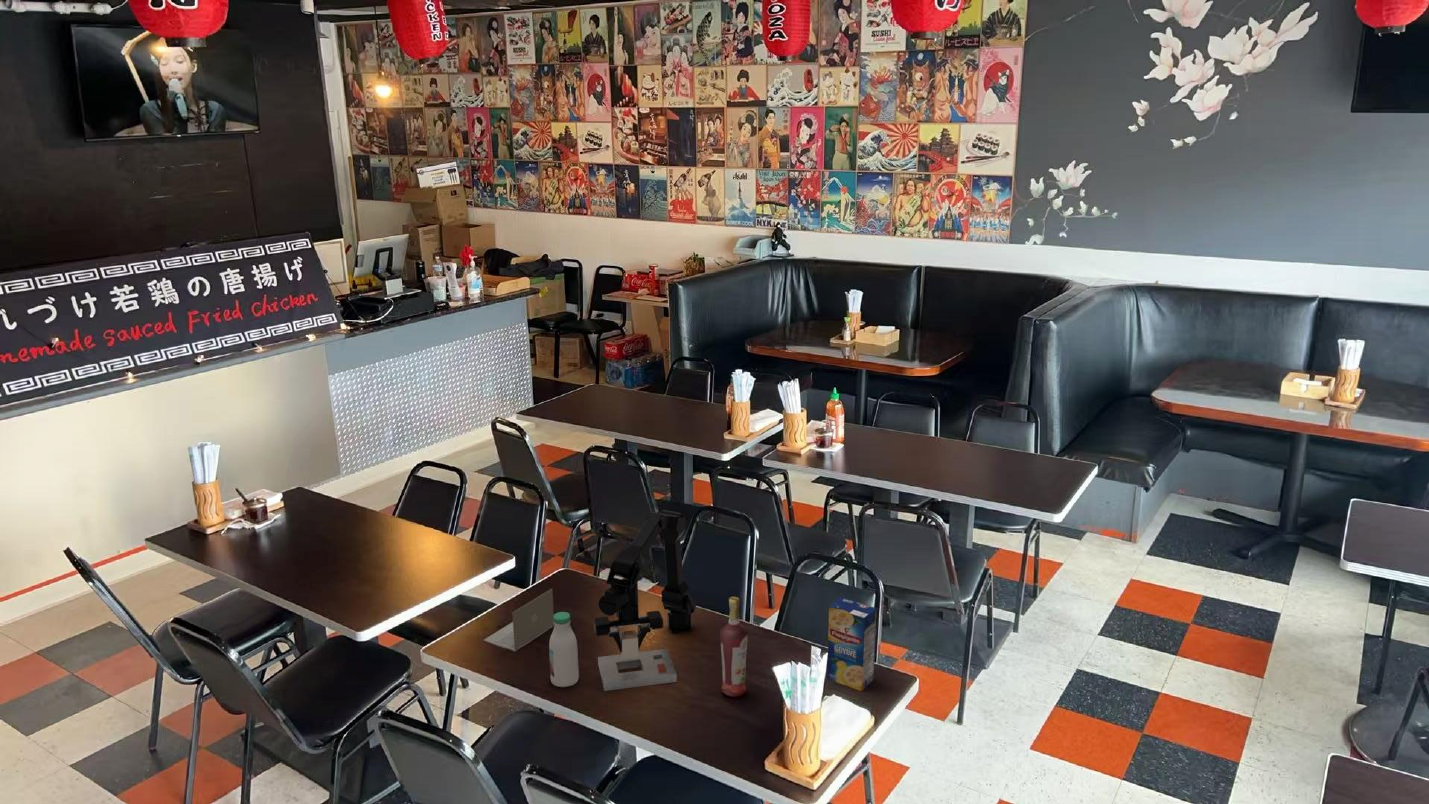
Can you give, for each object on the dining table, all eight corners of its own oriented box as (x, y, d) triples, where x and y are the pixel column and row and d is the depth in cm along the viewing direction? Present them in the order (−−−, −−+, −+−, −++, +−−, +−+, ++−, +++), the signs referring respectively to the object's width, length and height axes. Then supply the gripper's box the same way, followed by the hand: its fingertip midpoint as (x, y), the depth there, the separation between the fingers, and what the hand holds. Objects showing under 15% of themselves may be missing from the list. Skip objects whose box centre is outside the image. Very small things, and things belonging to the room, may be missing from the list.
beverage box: (862, 691, 275) (865, 618, 269) (826, 678, 281) (828, 606, 275) (873, 680, 280) (876, 608, 274) (838, 668, 287) (841, 597, 281)
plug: (636, 649, 285) (635, 628, 283) (638, 657, 281) (637, 635, 279) (620, 651, 284) (619, 630, 282) (622, 659, 280) (621, 637, 278)
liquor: (738, 703, 270) (738, 607, 262) (715, 695, 273) (714, 600, 266) (752, 690, 276) (753, 596, 268) (729, 682, 279) (729, 590, 272)
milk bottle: (583, 675, 283) (580, 611, 278) (571, 690, 276) (567, 623, 271) (558, 671, 286) (555, 606, 280) (545, 685, 278) (542, 619, 273)
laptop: (523, 617, 317) (520, 579, 313) (554, 627, 311) (552, 588, 307) (483, 642, 302) (480, 602, 298) (515, 653, 296) (513, 612, 292)
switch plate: (667, 656, 293) (667, 646, 292) (676, 681, 280) (676, 671, 279) (598, 665, 289) (597, 654, 288) (604, 691, 275) (604, 680, 275)
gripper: (656, 583, 287) (657, 632, 291) (590, 590, 283) (592, 640, 287) (663, 601, 277) (664, 652, 281) (595, 608, 273) (597, 660, 277)
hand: (629, 650), depth 282 cm, fingers closed on plug, 4 cm apart
